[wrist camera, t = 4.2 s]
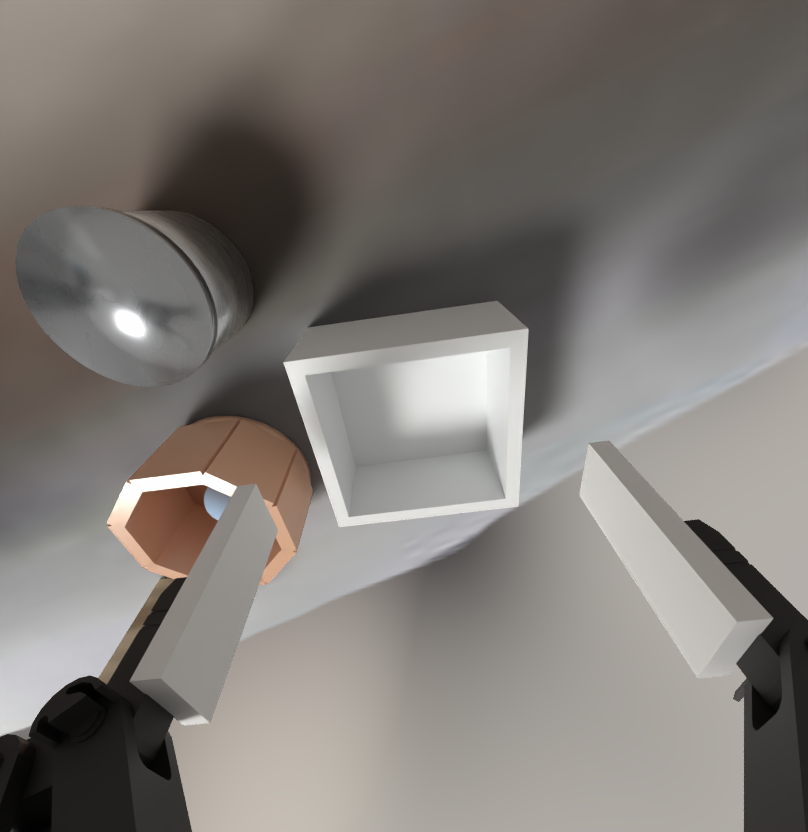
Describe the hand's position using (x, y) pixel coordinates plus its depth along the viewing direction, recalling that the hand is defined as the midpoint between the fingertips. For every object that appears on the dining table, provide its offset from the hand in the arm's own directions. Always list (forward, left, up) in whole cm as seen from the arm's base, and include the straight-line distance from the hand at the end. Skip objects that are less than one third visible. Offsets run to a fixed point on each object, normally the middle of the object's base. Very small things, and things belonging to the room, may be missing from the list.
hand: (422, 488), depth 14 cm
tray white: (0, 0, -8) cm, 8 cm away
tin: (-8, -10, -8) cm, 15 cm away
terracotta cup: (+4, -12, -8) cm, 15 cm away
